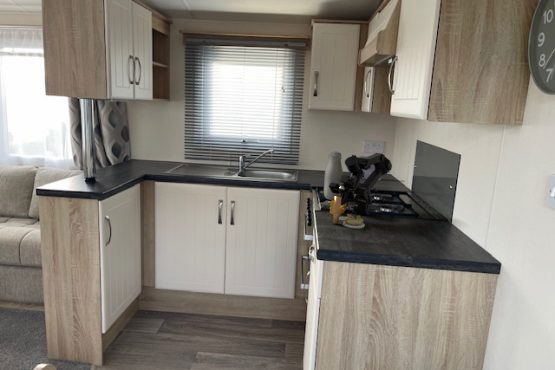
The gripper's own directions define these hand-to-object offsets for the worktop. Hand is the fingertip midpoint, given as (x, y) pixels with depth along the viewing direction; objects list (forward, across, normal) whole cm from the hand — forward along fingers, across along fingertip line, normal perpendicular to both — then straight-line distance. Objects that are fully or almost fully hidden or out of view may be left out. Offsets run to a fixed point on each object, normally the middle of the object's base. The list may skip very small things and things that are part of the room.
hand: (340, 205), depth 185 cm
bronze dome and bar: (+7, +6, +3) cm, 9 cm away
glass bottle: (-19, -26, +32) cm, 45 cm away
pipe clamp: (-5, -9, +17) cm, 19 cm away
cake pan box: (-79, -45, +94) cm, 131 cm away
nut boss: (+6, +8, +5) cm, 11 cm away
